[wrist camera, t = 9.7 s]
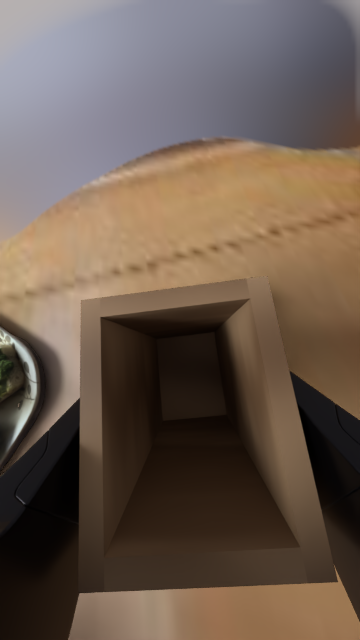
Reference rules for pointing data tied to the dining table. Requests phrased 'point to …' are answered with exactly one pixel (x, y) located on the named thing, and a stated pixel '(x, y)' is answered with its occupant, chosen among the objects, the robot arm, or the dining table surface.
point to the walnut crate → (193, 445)
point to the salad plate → (18, 392)
